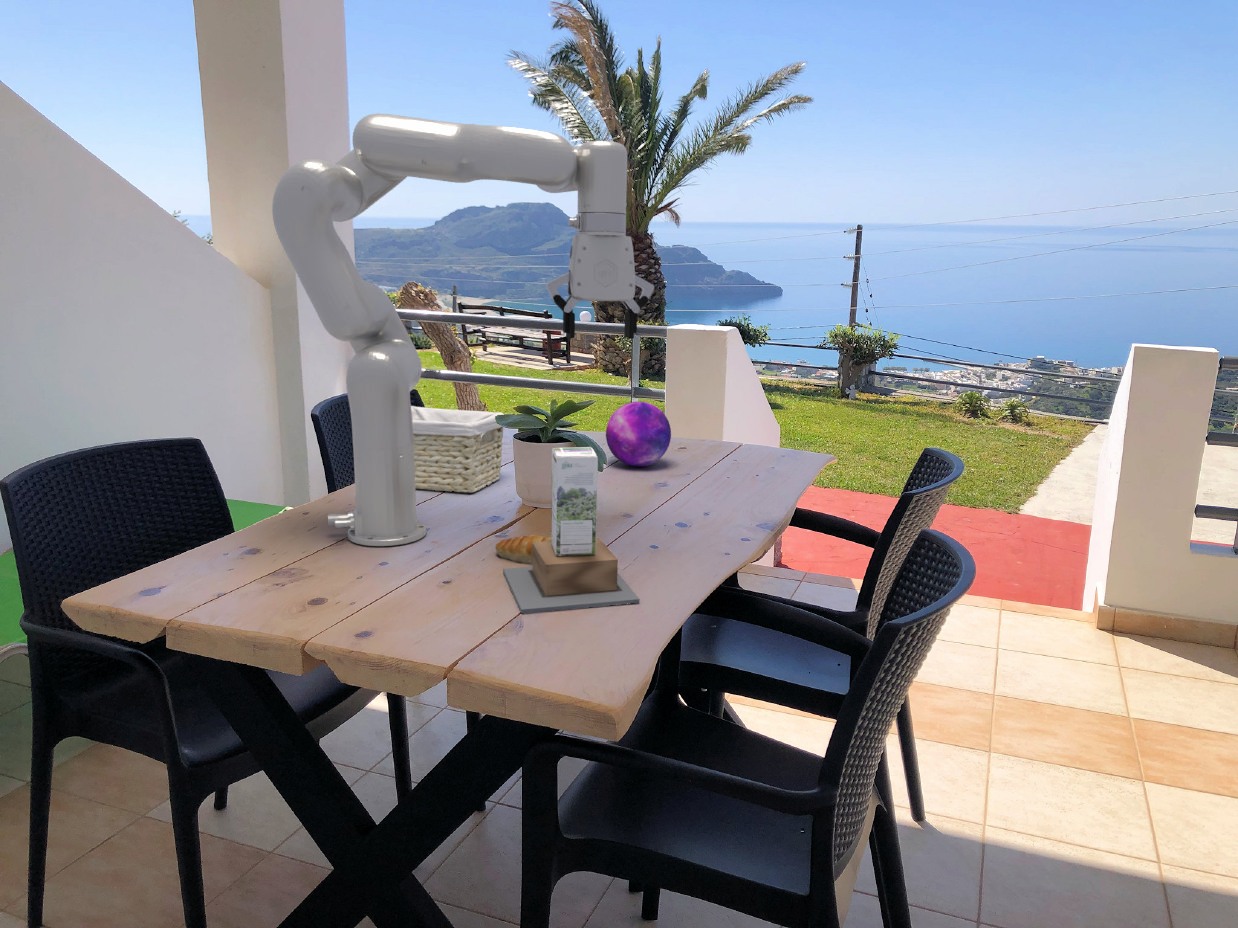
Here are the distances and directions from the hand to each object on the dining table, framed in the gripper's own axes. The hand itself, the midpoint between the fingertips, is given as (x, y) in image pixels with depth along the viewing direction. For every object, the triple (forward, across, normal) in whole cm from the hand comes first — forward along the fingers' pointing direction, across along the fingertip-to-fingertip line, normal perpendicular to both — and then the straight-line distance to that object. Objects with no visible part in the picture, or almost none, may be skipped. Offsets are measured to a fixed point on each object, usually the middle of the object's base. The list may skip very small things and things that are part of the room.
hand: (600, 338), depth 135 cm
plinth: (+33, -8, -21) cm, 40 cm away
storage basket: (+34, -23, +44) cm, 60 cm away
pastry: (+34, -13, -8) cm, 37 cm away
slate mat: (+33, -10, -22) cm, 41 cm away
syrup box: (+28, -8, -20) cm, 36 cm away
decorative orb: (+34, +22, +52) cm, 66 cm away
